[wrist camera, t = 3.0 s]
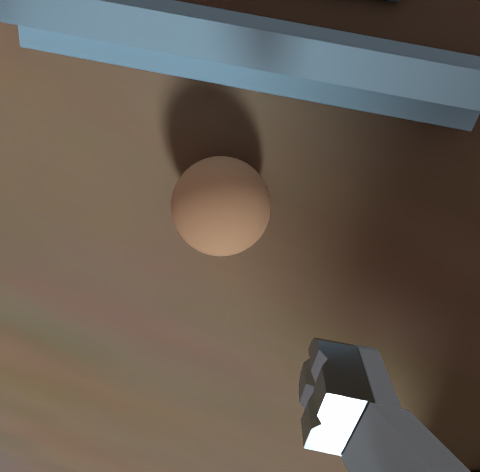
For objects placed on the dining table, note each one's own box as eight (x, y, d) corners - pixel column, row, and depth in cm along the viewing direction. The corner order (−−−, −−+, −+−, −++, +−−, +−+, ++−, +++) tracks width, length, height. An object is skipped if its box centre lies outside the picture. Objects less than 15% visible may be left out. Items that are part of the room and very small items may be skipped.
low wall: (463, 128, 17) (531, 149, 12) (31, 47, 17) (-58, 38, 12) (493, 61, 15) (583, 56, 11) (24, -25, 16) (-79, -65, 11)
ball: (262, 237, 20) (257, 284, 16) (181, 222, 20) (154, 263, 16) (280, 156, 18) (281, 183, 14) (189, 139, 18) (160, 160, 14)
